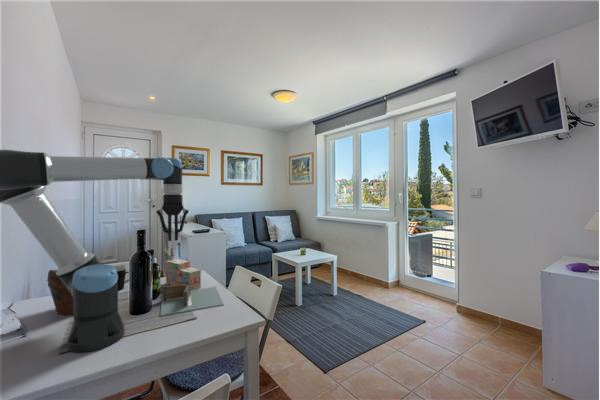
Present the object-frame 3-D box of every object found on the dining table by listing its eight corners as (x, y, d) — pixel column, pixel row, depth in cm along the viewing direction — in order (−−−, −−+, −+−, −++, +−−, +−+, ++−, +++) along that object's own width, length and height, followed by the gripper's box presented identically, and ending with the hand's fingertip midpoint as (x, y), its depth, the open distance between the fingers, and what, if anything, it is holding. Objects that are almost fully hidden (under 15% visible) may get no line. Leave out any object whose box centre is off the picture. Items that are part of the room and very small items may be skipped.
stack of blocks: (201, 288, 138) (200, 263, 138) (190, 291, 133) (189, 266, 133) (176, 280, 150) (176, 258, 150) (165, 283, 145) (165, 260, 145)
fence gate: (183, 306, 114) (183, 292, 114) (186, 296, 124) (186, 283, 124) (187, 305, 114) (186, 291, 114) (189, 296, 125) (189, 283, 124)
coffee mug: (101, 290, 135) (101, 270, 134) (119, 285, 142) (119, 266, 142) (116, 294, 130) (115, 273, 129) (134, 288, 137) (133, 268, 137)
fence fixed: (190, 297, 125) (190, 282, 125) (162, 301, 120) (162, 285, 120) (190, 296, 127) (190, 280, 126) (162, 300, 122) (162, 284, 122)
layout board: (223, 305, 117) (223, 304, 117) (160, 316, 106) (160, 315, 106) (215, 287, 138) (215, 286, 138) (162, 295, 128) (162, 294, 128)
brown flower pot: (117, 299, 123) (115, 259, 123) (77, 320, 103) (74, 273, 103) (81, 298, 125) (79, 259, 124) (34, 319, 105) (32, 273, 105)
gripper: (155, 194, 113) (155, 251, 114) (189, 194, 118) (189, 248, 119) (156, 194, 120) (157, 247, 121) (188, 194, 125) (189, 245, 126)
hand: (173, 248), depth 120 cm, fingers closed
